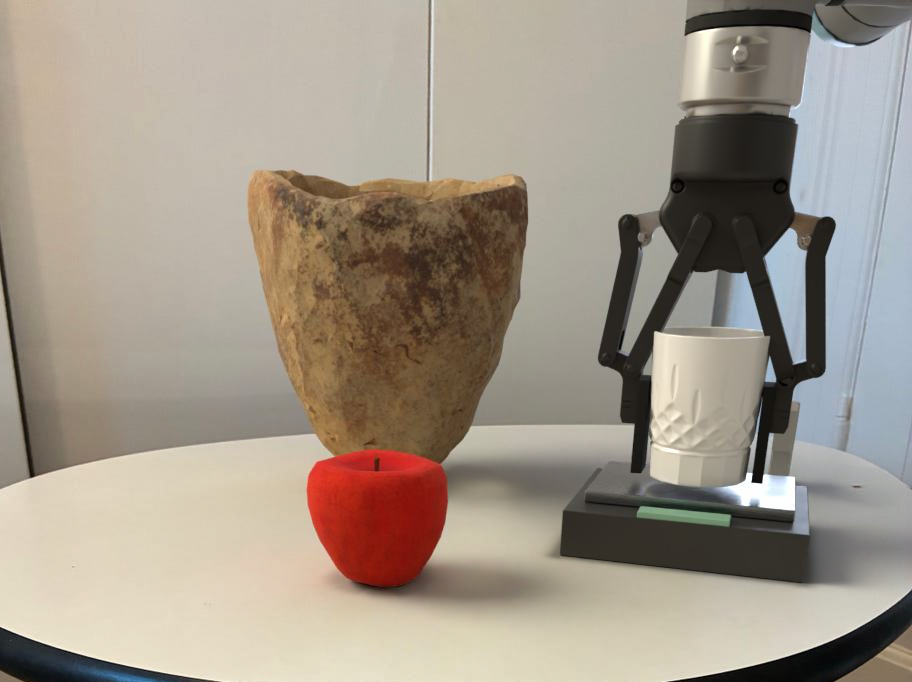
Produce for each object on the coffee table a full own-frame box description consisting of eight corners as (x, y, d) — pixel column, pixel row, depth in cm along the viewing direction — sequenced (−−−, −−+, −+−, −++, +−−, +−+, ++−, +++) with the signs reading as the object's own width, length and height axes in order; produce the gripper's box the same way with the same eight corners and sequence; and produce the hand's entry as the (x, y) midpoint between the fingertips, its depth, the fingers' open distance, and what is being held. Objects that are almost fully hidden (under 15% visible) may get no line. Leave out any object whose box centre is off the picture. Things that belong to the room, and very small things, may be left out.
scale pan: (793, 487, 77) (795, 476, 77) (793, 522, 68) (795, 510, 67) (608, 470, 81) (608, 460, 80) (584, 501, 72) (584, 490, 71)
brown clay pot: (244, 509, 80) (225, 158, 71) (275, 450, 101) (263, 172, 92) (528, 511, 81) (548, 165, 72) (501, 452, 102) (513, 177, 92)
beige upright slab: (767, 479, 93) (780, 390, 90) (787, 481, 93) (801, 391, 90) (764, 497, 87) (778, 402, 84) (785, 499, 86) (800, 404, 83)
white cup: (617, 475, 73) (629, 330, 69) (683, 460, 78) (697, 324, 74) (711, 496, 68) (729, 340, 64) (775, 479, 73) (796, 333, 69)
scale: (801, 527, 79) (808, 481, 77) (802, 582, 66) (811, 529, 65) (594, 506, 83) (597, 462, 82) (559, 555, 71) (562, 504, 69)
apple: (310, 556, 69) (306, 441, 66) (439, 555, 70) (441, 441, 67) (307, 602, 61) (304, 473, 58) (453, 600, 62) (457, 472, 59)
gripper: (564, 112, 64) (544, 473, 72) (920, 106, 58) (852, 499, 67) (586, 122, 70) (565, 452, 79) (907, 118, 65) (847, 475, 73)
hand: (696, 473), depth 73 cm, fingers closed on white cup, 8 cm apart
